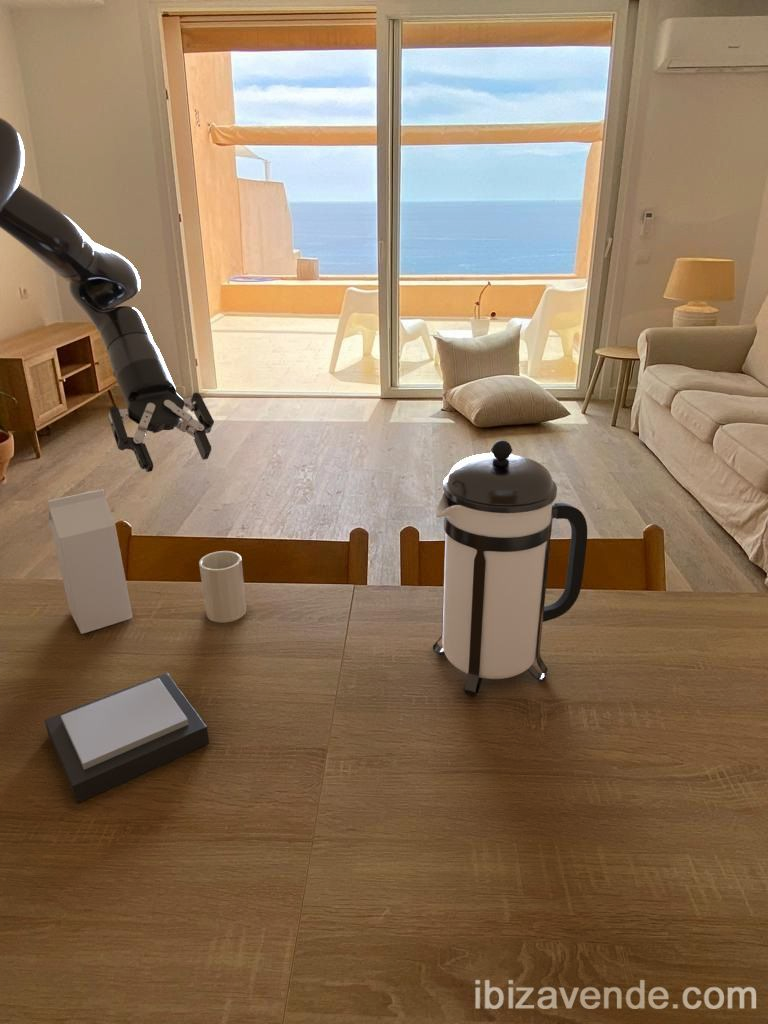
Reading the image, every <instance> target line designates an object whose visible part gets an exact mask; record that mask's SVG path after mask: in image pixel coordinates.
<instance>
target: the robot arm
mask: <svg viewBox="0 0 768 1024" xmlns="http://www.w3.org/2000/svg"><path fill="white" fill-rule="evenodd" d="M24 168H25V149H24V143H23V141H22V138H21V136H20V134H19V132H18V131H17V129H16V128H15V127H14V126H13V125H12V124H11V123H9V121H7V120H5V119H4V118H2V117H0V229H2V231H4V232H5V233H7V234H8V235H10V236H11V237H12V238H14V239H15V240H16V241H18V243H20V244H21V245H22V246H24V247H25V248H26V249H27V250H28V251H29V252H31V253H32V254H33V255H34V256H35V257H37V258H38V259H39V260H40V261H41V262H42V263H44V264H45V265H46V266H47V267H49V268H50V269H51V270H52V271H53V272H54V273H55V274H57V275H58V276H59V277H60V278H62V279H63V280H64V281H66V282H68V291H69V294H70V297H71V298H72V300H73V302H75V304H76V305H77V306H78V308H79V309H80V310H82V311H83V313H84V314H85V315H86V316H87V317H88V319H89V320H90V322H91V323H92V324H93V326H94V327H95V329H96V330H97V332H98V334H99V336H100V338H101V341H102V343H103V346H104V348H105V351H106V353H107V355H108V358H109V359H108V360H109V364H110V367H111V370H112V374H113V377H114V379H115V380H116V382H117V384H118V386H119V390H120V392H121V394H122V396H123V399H124V402H125V404H126V408H120V409H119V407H118V406H115V405H113V406H111V407H110V408H109V411H108V412H109V413H108V418H107V419H108V421H109V426H110V428H111V432H112V435H113V437H114V439H115V440H114V441H115V443H116V447H117V449H118V450H120V451H125V450H129V451H132V452H133V453H134V455H135V458H136V460H137V463H138V466H139V467H140V469H142V470H145V472H146V473H150V472H153V469H154V463H153V460H152V458H151V455H150V453H149V450H148V448H147V445H146V443H145V442H144V441H145V439H146V436H147V434H148V432H150V433H151V432H152V434H156V433H160V432H162V431H172V430H174V429H177V430H179V431H181V432H182V433H186V434H188V435H190V436H191V437H193V438H194V439H193V441H194V443H195V446H196V449H197V451H198V453H199V455H200V457H201V460H202V461H203V460H204V461H205V460H208V459H209V457H210V454H211V452H212V445H211V443H210V441H209V439H208V436H207V434H209V433H211V431H212V427H213V426H214V423H215V420H214V419H213V417H212V415H211V413H210V410H209V409H208V407H207V405H206V403H205V401H204V399H203V397H202V395H201V393H199V392H193V394H192V395H191V396H189V397H181V396H180V395H179V394H178V391H177V389H176V385H175V384H174V382H173V379H172V377H171V374H170V372H169V370H168V368H167V365H166V363H165V361H164V358H163V356H162V354H161V352H160V349H159V348H158V346H157V345H156V343H155V341H154V339H153V336H152V334H151V332H150V330H149V328H148V325H147V323H146V321H145V318H144V317H143V315H142V313H141V312H140V311H139V310H138V309H137V308H135V307H132V306H128V305H122V304H124V303H126V302H128V301H130V300H133V298H135V297H136V296H137V295H138V294H139V292H140V289H141V279H140V276H139V274H138V271H137V269H136V268H135V267H134V265H133V264H132V263H131V262H130V261H129V260H128V259H126V257H124V256H123V255H121V254H120V253H118V252H116V251H114V250H112V249H110V248H108V247H106V246H104V245H102V244H100V243H99V242H96V241H94V240H92V239H91V238H90V237H89V236H88V235H87V234H86V233H85V232H84V231H83V230H82V229H81V228H80V227H79V226H78V224H76V223H75V222H74V221H73V220H72V219H71V218H70V217H69V216H67V215H66V214H65V213H64V212H62V211H61V210H59V209H58V208H57V207H55V206H53V205H52V204H51V203H49V202H48V201H45V199H43V198H41V197H40V196H38V195H37V194H34V193H33V192H31V191H30V190H29V189H27V188H25V186H23V185H21V184H20V182H21V180H22V179H21V178H22V176H23V173H24ZM184 408H187V409H188V410H189V411H190V412H191V413H193V414H194V415H195V418H196V419H197V420H196V419H195V418H194V417H193V416H192V415H191V414H190V413H189V412H187V411H186V410H184ZM127 418H128V419H129V420H131V421H132V422H134V423H135V424H137V425H138V426H137V429H136V431H135V434H134V436H133V437H132V436H128V434H127V431H126V428H125V425H124V424H125V423H126V420H127ZM180 419H181V420H180Z"/></svg>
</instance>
